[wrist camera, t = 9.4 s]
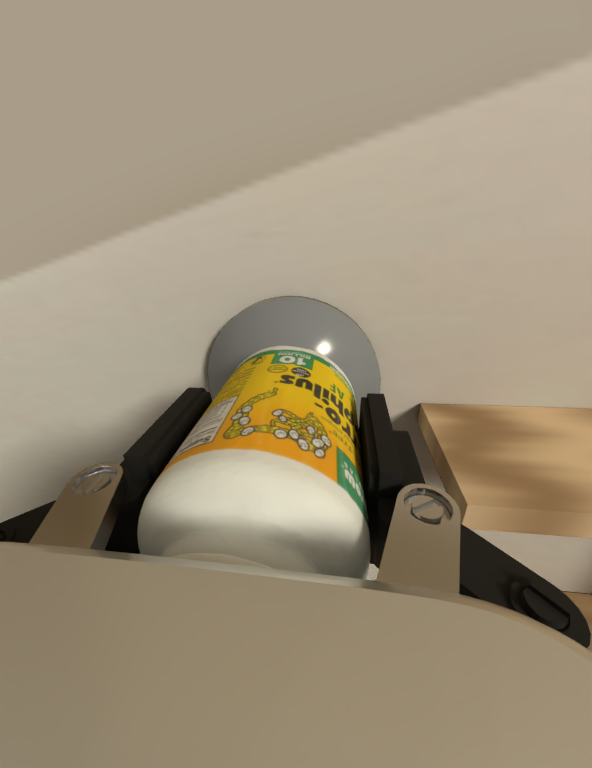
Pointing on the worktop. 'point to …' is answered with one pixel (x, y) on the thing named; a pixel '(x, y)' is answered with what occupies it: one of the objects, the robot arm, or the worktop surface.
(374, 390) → the slate coaster
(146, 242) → the worktop surface
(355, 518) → the supplement bottle
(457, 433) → the wooden u-frame
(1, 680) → the robot arm
